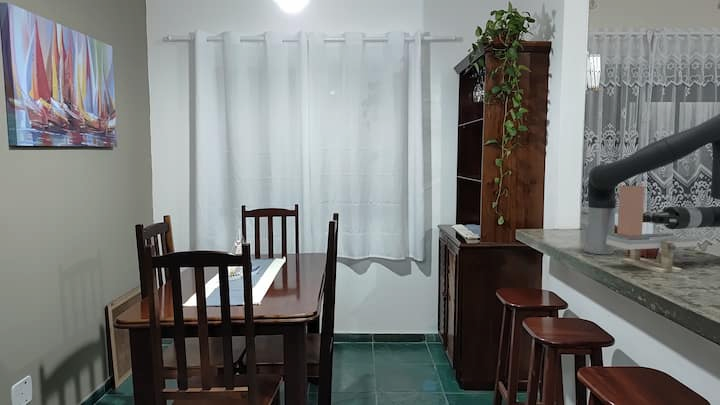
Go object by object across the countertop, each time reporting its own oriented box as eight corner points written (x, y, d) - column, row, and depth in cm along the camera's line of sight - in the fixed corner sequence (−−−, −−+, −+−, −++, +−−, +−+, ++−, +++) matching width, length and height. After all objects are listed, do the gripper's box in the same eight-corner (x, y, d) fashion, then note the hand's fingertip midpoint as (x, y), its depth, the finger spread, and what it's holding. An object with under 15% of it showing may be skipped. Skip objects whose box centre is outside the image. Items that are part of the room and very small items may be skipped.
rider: (630, 238, 166) (633, 185, 164) (649, 242, 158) (652, 186, 156) (609, 239, 164) (612, 185, 163) (627, 243, 156) (630, 187, 155)
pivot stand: (639, 260, 173) (641, 233, 172) (682, 271, 156) (684, 242, 155) (620, 261, 171) (621, 234, 170) (661, 273, 154) (663, 243, 153)
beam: (671, 240, 171) (671, 232, 170) (697, 246, 161) (697, 237, 161) (606, 243, 165) (606, 235, 165) (628, 249, 155) (629, 240, 155)
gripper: (666, 204, 171) (623, 205, 167) (700, 208, 158) (654, 209, 154) (664, 226, 171) (621, 227, 168) (698, 231, 159) (652, 233, 155)
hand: (637, 218), depth 161 cm, fingers closed
